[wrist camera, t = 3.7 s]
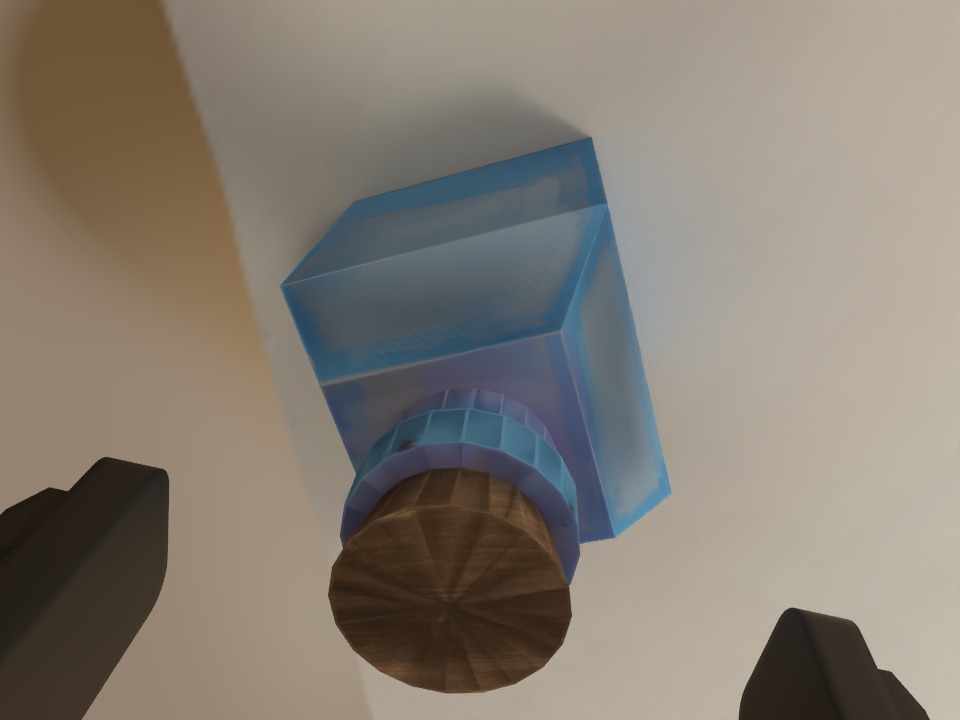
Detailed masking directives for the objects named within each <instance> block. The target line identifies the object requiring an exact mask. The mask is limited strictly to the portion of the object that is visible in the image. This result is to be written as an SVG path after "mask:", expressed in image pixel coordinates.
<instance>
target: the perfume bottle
mask: <svg viewBox="0 0 960 720" xmlns="http://www.w3.org/2000/svg"><path fill="white" fill-rule="evenodd" d="M280 288H281V290H282V293H283V295H284V298H285V300H286V303H287V305H288V308H289V310H290V313H291V315H292V318H293V320H294V323H295V325H296V327H297V330H298V332H299V335H300V337H301V340H302V342H303V345H304V347H305V350H306V352H307V355H308V357H309V360H310V362H311V365H312V367H313V370H314V372H315V375H316V377H317V380H318V382H319V385H320V387H321V390H322V392H323V394H324V397H325V399H326V402H327V404H328V407H329V409H330V411H331V414H332V416H333V419H334V421H335V424H336V426H337V428H338V431H339V433H340V436H341V438H342V441H343V443H344V445H345V448H346V450H347V453H348V455H349V458H350V460H351V462H352V465H353V467H354V470H355V472H356V477H355V480H354V482H353V485H352V487H351V490H350V492H349V495H348V497H347V500H346V502H345V505H344V511H343V518H342V525H341V532H340V538H341V542H342V546H343V550H342V551H341V553H340V555H339V556H338V558H337V560H336V561H335V563H334V565H333V566H332V572H331V580H330V586H329V593H328V597H329V600H330V604H331V608H332V612H333V615H334V620H335V623H336V625H337V626H338V628H339V630H340V631H341V632H342V634H343V636H344V637H345V638H346V640H347V641H348V643H349V644H350V646H351V647H352V649H353V650H354V651H355V652H356V653H358V654H359V655H360V656H361V657H363V658H364V659H365V660H366V661H367V662H369V663H370V664H371V665H372V666H374V667H375V668H376V669H377V670H379V671H380V672H382V673H384V674H386V675H389V676H391V677H393V678H395V679H397V680H399V681H402V682H404V683H406V684H408V685H410V686H413V687H418V688H423V689H428V690H433V691H437V692H442V693H483V692H487V691H490V690H494V689H498V688H502V687H505V686H509V685H513V684H516V683H518V682H519V681H521V680H523V679H524V678H526V677H528V676H529V675H531V674H533V673H534V672H536V671H538V670H539V669H541V668H543V667H544V666H545V664H546V663H547V662H548V661H549V660H550V659H551V657H552V656H553V655H554V654H555V653H556V651H557V650H558V649H559V648H560V647H561V646H562V644H563V642H564V639H565V636H566V633H567V630H568V627H569V623H570V620H571V617H572V613H571V602H570V592H569V585H570V584H571V581H572V578H573V575H574V572H575V569H576V566H577V563H578V560H579V556H580V545H579V544H581V543H587V542H593V541H598V540H604V539H610V538H615V537H617V536H618V535H619V534H620V533H622V532H623V531H624V530H626V529H627V528H628V527H629V526H631V525H632V524H633V523H634V522H636V521H637V520H638V519H640V518H641V517H642V516H643V515H645V514H646V513H647V512H648V511H650V510H651V509H652V508H654V507H655V506H656V505H657V504H659V503H660V502H661V501H662V500H664V499H665V498H666V497H668V496H669V495H670V494H671V489H670V484H669V480H668V475H667V471H666V466H665V462H664V457H663V452H662V448H661V443H660V439H659V434H658V430H657V425H656V421H655V416H654V412H653V407H652V403H651V398H650V394H649V389H648V384H647V380H646V375H645V371H644V366H643V362H642V357H641V353H640V348H639V344H638V339H637V335H636V330H635V326H634V321H633V316H632V312H631V307H630V303H629V298H628V294H627V289H626V285H625V280H624V276H623V271H622V267H621V262H620V258H619V253H618V248H617V244H616V239H615V235H614V230H613V226H612V221H611V217H610V212H609V208H608V203H607V199H606V195H605V191H604V187H603V183H602V179H601V175H600V171H599V166H598V162H597V158H596V154H595V150H594V146H593V142H592V138H591V137H590V138H587V139H583V140H579V141H576V142H572V143H568V144H565V145H561V146H557V147H554V148H550V149H546V150H543V151H539V152H535V153H532V154H528V155H524V156H520V157H517V158H513V159H509V160H506V161H502V162H498V163H495V164H491V165H487V166H484V167H480V168H476V169H473V170H469V171H465V172H462V173H458V174H454V175H451V176H447V177H443V178H439V179H436V180H432V181H428V182H425V183H421V184H417V185H414V186H410V187H406V188H403V189H399V190H395V191H392V192H388V193H384V194H381V195H377V196H373V197H370V198H366V199H362V200H358V201H355V202H353V204H352V205H351V206H350V207H349V208H348V209H347V210H346V211H345V213H344V214H343V215H342V216H341V217H340V218H339V219H338V220H337V222H336V223H335V224H334V225H333V226H332V227H331V228H330V229H329V231H328V232H327V233H326V234H325V235H324V236H323V237H322V239H321V240H320V241H319V242H318V243H317V244H316V245H315V246H314V248H313V249H312V250H311V251H310V252H309V253H308V254H307V255H306V257H305V258H304V259H303V260H302V261H301V262H300V263H299V265H298V266H297V267H296V268H295V269H294V270H293V271H292V272H291V274H290V275H289V276H288V277H287V278H286V279H285V280H284V281H283V283H282V284H281V285H280Z"/></svg>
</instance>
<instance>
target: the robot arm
mask: <svg viewBox="0 0 960 720" xmlns="http://www.w3.org/2000/svg"><path fill="white" fill-rule="evenodd" d="M168 511H169V478H168V474H167V472H166V471H165V470H164V469H160V468H155V467H151V466H146V465H141V464H137V463H132V462H127V461H123V460H119V459H114V458H109V457H104V458H101V459H100V460H98V461H97V462H96V463H95V464H94V465H93V466H92V467H91V468H90V469H89V470H88V471H87V472H86V473H85V474H84V475H83V476H82V477H81V479H79V481H78V482H77V483H76V484H75V485H74V486H73V487H72V488H71V489H70V490H69V491H63V490H59V489H54V488H50V487H49V488H47V489H45V490H43V491H41V492H39V493H37V494H35V495H33V496H31V497H29V498H27V499H25V500H23V501H21V502H19V503H18V504H16V505H14V506H12V507H10V508H8V509H6V510H5V511H4V512H3V513H2V514H1V515H0V720H82V718H83V716H84V715H85V713H86V712H87V710H88V709H89V707H90V706H91V704H92V703H93V701H94V699H95V698H96V696H97V694H98V693H99V692H100V690H101V689H102V687H103V685H104V684H105V682H106V681H107V679H108V678H109V676H110V675H111V673H112V671H113V670H114V668H115V667H116V665H117V664H118V662H119V661H120V659H121V657H122V656H123V654H124V653H125V651H126V650H127V648H128V647H129V645H130V643H131V642H132V640H133V639H134V637H135V636H136V634H137V632H138V631H139V629H140V628H141V626H142V625H143V623H144V622H145V620H146V619H147V617H148V616H149V614H150V612H151V611H152V608H153V607H154V605H155V603H156V601H157V599H158V596H159V594H160V591H161V588H162V585H163V582H164V578H165V574H166V568H167V556H168V555H167V554H168V553H167V552H168ZM739 720H930V719H929V717H928V715H927V713H926V711H925V710H924V709H923V708H922V706H921V705H920V704H919V703H918V702H917V701H916V700H915V698H914V697H913V696H912V695H911V694H910V693H909V692H908V690H907V689H906V688H905V687H904V686H903V685H902V684H901V682H900V681H899V680H898V679H897V678H896V677H895V676H894V674H893V673H892V672H890V671H885V670H881V669H877V666H876V664H875V662H874V660H873V658H872V655H871V653H870V651H869V649H868V647H867V645H866V642H865V640H864V638H863V636H862V634H861V632H860V630H859V628H858V627H857V625H856V624H855V623H854V622H852V621H851V620H848V619H843V618H838V617H834V616H829V615H825V614H820V613H815V612H811V611H806V610H802V609H797V608H789V609H787V610H786V611H784V612H783V614H782V615H781V617H780V618H779V620H778V622H777V624H776V626H775V628H774V630H773V632H772V634H771V636H770V638H769V640H768V642H767V644H766V646H765V648H764V650H763V652H762V654H761V656H760V658H759V661H758V663H757V665H756V667H755V669H754V671H753V673H752V675H751V677H750V679H749V681H748V683H747V685H746V687H745V689H744V692H743V695H742V699H741V703H740V710H739Z"/></svg>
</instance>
